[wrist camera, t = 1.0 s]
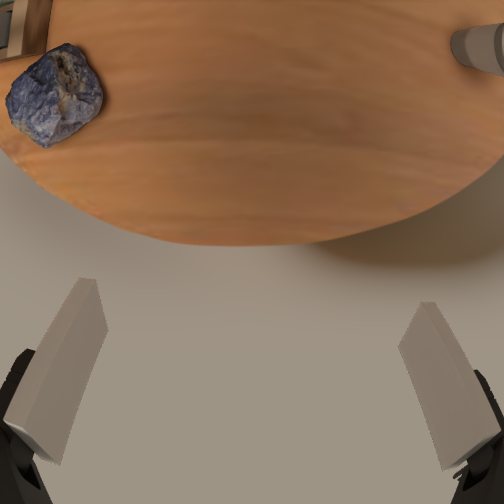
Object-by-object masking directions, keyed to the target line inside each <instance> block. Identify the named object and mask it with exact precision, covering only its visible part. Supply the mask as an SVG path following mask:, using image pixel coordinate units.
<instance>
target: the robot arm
mask: <svg viewBox="0 0 504 504" xmlns="http://www.w3.org/2000/svg"><path fill="white" fill-rule="evenodd" d="M107 332H108V327H107V323H106V319H105V316H104V312H103V308H102V304H101V299H100V295H99V291H98V286H97V283H96V280H94V279H86V278H79V279H78V281H77V282H76V284H75V285H74V287H73V289H72V290H71V292H70V293H69V295H68V296H67V298H66V300H65V301H64V303H63V304H62V306H61V308H60V310H59V311H58V313H57V315H56V316H55V318H54V320H53V321H52V323H51V325H50V327H49V328H48V330H47V332H46V334H45V335H44V337H43V339H42V341H41V343H40V344H39V346H38V348H37V350H36V351H34V350H30V349H26V350H25V351H24V352H22V354H20V355H19V356H18V357H17V358H16V360H15V362H14V364H13V366H12V368H11V372H9V374H8V375H7V377H6V381H4V383H3V385H2V387H1V389H0V504H53V503H52V501H51V500H50V497H49V495H48V492H47V490H46V488H45V486H44V484H43V481H42V479H41V477H40V474H39V472H38V470H37V467H36V464H35V463H34V461H33V459H32V458H33V455H34V452H35V453H36V454H37V455H38V456H39V457H40V458H41V459H43V460H45V461H48V462H51V463H54V464H57V465H59V466H60V464H61V461H62V457H63V454H64V450H65V447H66V444H67V441H68V438H69V434H70V431H71V428H72V425H73V422H74V419H75V416H76V413H77V410H78V407H79V405H80V402H81V399H82V396H83V393H84V390H85V388H86V385H87V382H88V380H89V377H90V374H91V372H92V369H93V367H94V364H95V362H96V359H97V356H98V354H99V352H100V349H101V347H102V344H103V342H104V339H105V337H106V334H107ZM398 348H399V351H400V353H401V355H402V358H403V360H404V363H405V365H406V368H407V370H408V373H409V376H410V378H411V381H412V383H413V386H414V389H415V391H416V394H417V397H418V399H419V402H420V405H421V408H422V410H423V413H424V416H425V419H426V422H427V425H428V428H429V431H430V434H431V437H432V440H433V443H434V446H435V449H436V452H437V455H438V458H439V462H440V465H441V468H442V471H445V470H449V469H452V468H455V467H457V466H459V465H460V464H461V463H462V462H464V461H465V460H467V462H468V465H466V466H465V467H464V468H462V469H461V470H460V471H458V472H457V473H455V475H454V476H453V479H455V478H456V477H458V476H459V475H461V474H462V476H461V477H460V478H459V479H458V481H459V484H458V486H457V489H456V492H455V494H454V497H453V499H452V502H451V504H504V417H503V415H502V412H501V410H500V408H499V406H498V403H497V402H496V399H494V395H493V393H492V391H490V387H489V385H488V383H487V381H486V379H485V378H484V377H483V375H482V374H481V373H480V372H479V371H478V370H473V369H472V367H471V365H470V363H469V361H468V359H467V357H466V355H465V354H464V352H463V350H462V348H461V346H460V344H459V343H458V341H457V339H456V337H455V336H454V334H453V332H452V330H451V329H450V327H449V325H448V323H447V322H446V320H445V318H444V317H443V315H442V314H441V312H440V310H439V309H438V307H437V305H436V303H435V302H421V303H420V305H419V307H418V309H417V312H416V313H415V315H414V317H413V319H412V321H411V323H410V325H409V327H408V329H407V331H406V332H405V334H404V336H403V338H402V340H401V342H400V344H399V345H398Z"/></svg>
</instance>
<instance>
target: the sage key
mask: <svg viewBox="0 0 504 504" xmlns="http://www.w3.org/2000/svg"><path fill="white" fill-rule="evenodd" d="M14 1H15V0H0V7H2V6H5V5H8V4H11V3H14Z"/></svg>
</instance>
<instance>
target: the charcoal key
mask: <svg viewBox="0 0 504 504" xmlns="http://www.w3.org/2000/svg"><path fill="white" fill-rule="evenodd" d="M11 18H12V13H9V12H0V48H3V47H7V46H8V41H9V33H10V25H11Z"/></svg>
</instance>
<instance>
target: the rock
mask: <svg viewBox="0 0 504 504" xmlns="http://www.w3.org/2000/svg"><path fill="white" fill-rule="evenodd" d="M11 86H12V88H11V90H10V92H9V93H8V95H7V96H6V98H5V100H6V104H5V105H6V107H7V109H8V113H9V117H10V119H11V123H12V125H14V126H15V127H16V128H18V129H19V130H20V131H21V132H23V133H24V134H25V135H27V136H29V137H30V138H31V139H32V140H33V141H34V142H36V143H37V144H38V145H41V146H42V147H43V148H49V147H51V146H52V145H54V143H59V142H60V141H61V140H63V139H65V138H68V137H69V136H71V135H72V133H74V132H77V131H78V129H79V128H80V127H81V126H83V125H84V124H86V122H87V123H88V122H89V121H90V120H91V119H92V118H94V117H95V116H96V115H97V114H98V113H99V110H100V108H101V104H102V98H103V92H102V88H101V87H100V85H99V82H98V79H97V76H96V75H95V73H94V72H93V70H91V69H90V68H89V67H88V64H87V61H86V58H85V56H84V55H83V53H82V52H81V51H80V50H79V49H78V48H77V47H76V46H73V45H71V44H69V43H64V44H63V45H60V46H58V47H56V48H54V49H52V50H50V51H48V52H46V53H44V55H43V56H42V57H41V58H40V59H39V60H38V61H37V62H35V63H33V64H32V65H30V66H29V67H28V68H27V70H26V71H24V72H23V73H22V74H21V75H20V76H19V78H17V79H16V80H15V81H14V82H13V83H12V85H11Z"/></svg>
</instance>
